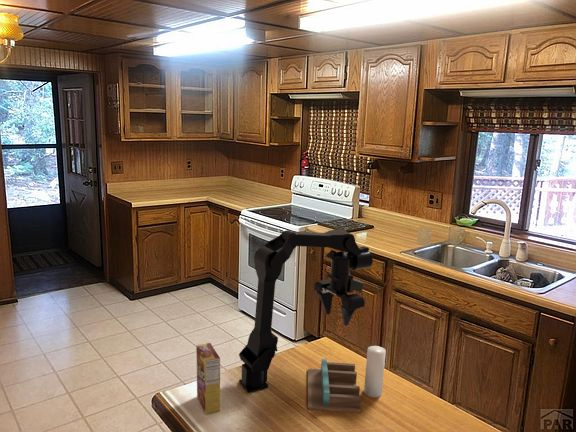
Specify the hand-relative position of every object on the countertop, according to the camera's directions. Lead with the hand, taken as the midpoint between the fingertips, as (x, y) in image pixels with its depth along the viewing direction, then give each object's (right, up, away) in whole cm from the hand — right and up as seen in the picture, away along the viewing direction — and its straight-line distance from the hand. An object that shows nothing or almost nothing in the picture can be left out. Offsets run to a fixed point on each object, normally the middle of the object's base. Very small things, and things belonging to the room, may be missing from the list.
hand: (336, 319), depth 145 cm
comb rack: (-3, -17, -12) cm, 21 cm away
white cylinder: (+9, -18, -13) cm, 24 cm away
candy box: (-36, -18, -22) cm, 46 cm away
